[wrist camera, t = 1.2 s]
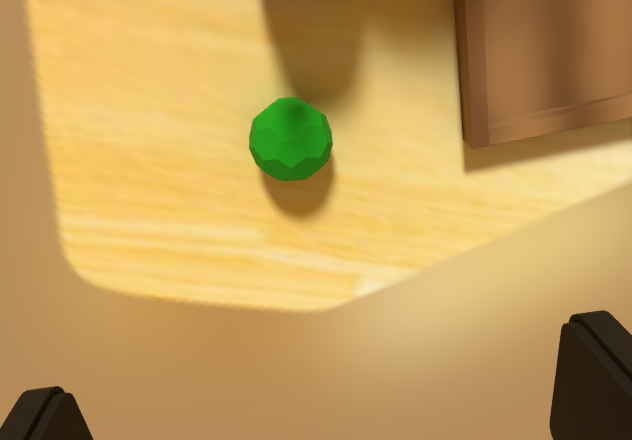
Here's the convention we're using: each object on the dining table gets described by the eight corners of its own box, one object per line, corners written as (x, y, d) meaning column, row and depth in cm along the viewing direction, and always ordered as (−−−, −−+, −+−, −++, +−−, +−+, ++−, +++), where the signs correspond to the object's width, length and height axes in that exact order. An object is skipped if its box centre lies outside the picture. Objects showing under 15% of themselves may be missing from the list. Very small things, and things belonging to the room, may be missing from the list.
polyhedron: (239, 106, 31) (231, 128, 27) (312, 77, 31) (316, 96, 27) (270, 175, 34) (267, 205, 29) (339, 149, 33) (346, 176, 29)
